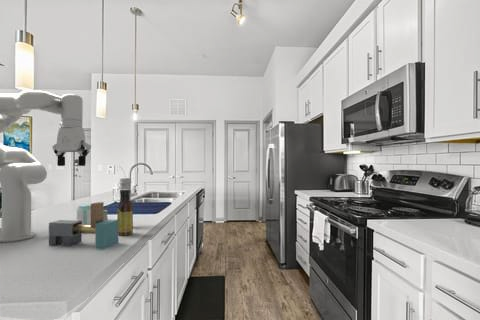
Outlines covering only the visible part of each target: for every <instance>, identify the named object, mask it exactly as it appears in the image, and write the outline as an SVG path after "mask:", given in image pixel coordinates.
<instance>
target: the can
mask: <svg viewBox="0 0 480 320" xmlns="http://www.w3.org/2000/svg"><path fill="white" fill-rule="evenodd" d="M76 221H82V225H90V222H91V203H89V204H80V205H78V207H77V208H76Z"/></svg>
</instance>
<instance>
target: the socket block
mask: <svg viewBox="0 0 480 320" xmlns="http://www.w3.org/2000/svg"><path fill="white" fill-rule="evenodd" d="M118 224H119V220H117V219H108V220H107V221H103V222H100V223H97V224H96V234H95V241H94V242H95V244H94V245H95V246H94V247H95V249H96V250H106V249H108V248H111V247H112V246H114V245H117V244H119V235H118Z"/></svg>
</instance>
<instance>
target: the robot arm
mask: <svg viewBox="0 0 480 320" xmlns="http://www.w3.org/2000/svg"><path fill="white" fill-rule="evenodd" d="M83 104H84V101H83V98H82V97H81V95H77V94H72V93H67V94H66V93H65V94H63V95H62V96H59V95H56V94H54V93H51V92H48V91H44V90H22V91H21V92H19V93H3V92H2V93H0V134H3V133H5V132H6V131H7V130H9V129H10V128H11V127H12V126H13V125H15V123H16V122H17V121H18V120H19V119H20V118H21V117H23V115H26V114H29V113H30V112H31V111H32V110H39V111H44V112H48V113H51V114H55V115H60V123H59V125H60V127H59V128H58V133H57V136H56V144H53V145H52V150H53V152H54V154H55V156H56V157H57V162H56V163H57V166H58V167H65V166H66V156H65V155H66V154H67V153H77V154H78V157H77V158H78V159H77V161H78V163H77V165H78V166H79V167H85V166H86V161H87V160H86V157H88V154H89V153H90V151H91V149H92V145H91V144H89V143H88V142H86V135H85V130H84V128H83V115H84V114H83V113H84V112H83V108H84V106H83ZM47 175H48V173H47V169H46V167H45V166H44V165H43V164H42V163H41V162H40V161H39V159H37V158H36V157H35V156H34V155H33V154H32V153H30V151H28V150H27V149H24V148H21V147H13V146H8V145H4V144H3V143H2V142H0V188H1V189H0V190H1V224H0V225H1V227H0V243H9V242H10V243H12V242H17V241H18V242H19V241H25V240H28V239H31V238H34V237H35V236H36V232H34V231H32V193H31V190H30V188H29V186H28V185H38V184H41V183H42V182H44V181H45V180H46V178H47Z"/></svg>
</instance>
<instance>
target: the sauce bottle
mask: <svg viewBox="0 0 480 320" xmlns="http://www.w3.org/2000/svg"><path fill="white" fill-rule="evenodd" d="M120 196H121V198H120ZM116 211H117V213H116V215H117V219H116V220H119V224H118V236H121V237H122V236H124V237H125V236H130V235H132V234H133V230H134V210H133V203H132V201H131V188H130V189H121V190H120V189H119V203H118V206H117V209H116Z"/></svg>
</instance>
